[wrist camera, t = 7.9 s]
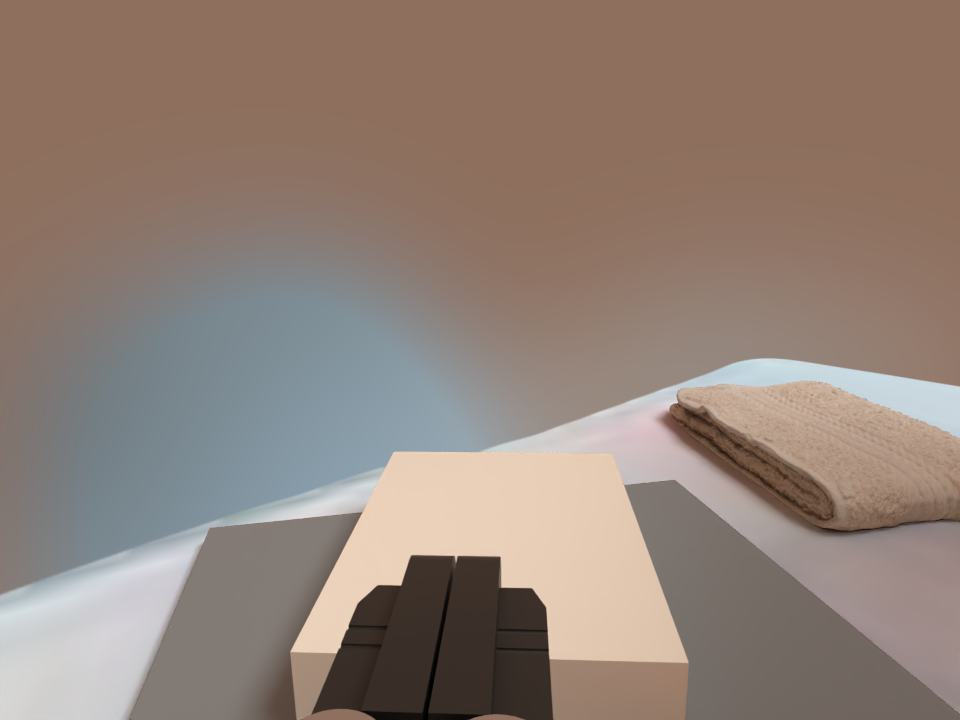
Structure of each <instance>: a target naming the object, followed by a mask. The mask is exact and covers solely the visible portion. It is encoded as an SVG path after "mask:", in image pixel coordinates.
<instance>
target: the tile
mask: <svg viewBox="0 0 960 720" xmlns="http://www.w3.org/2000/svg"><path fill="white" fill-rule="evenodd" d="M411 555H440V556H455V559H456V561H457V557H458V556H500V557H501V588H532V589H533V590H534V591H535V593H536V594H537V595H538V597H539V598H540V600H541V601H542V602H543V604H544V605H545V606H546V610H547V626H548V642H549V658H550V675H551V691H552V707H553V720H685V714H686V699H687V684H688V668H689V662H688V659H687V657H686V654H685V651H684V648H683V646H682V643H681V640H680V637H679V635H678V632H677V629H676V626H675V624H674V621H673V618H672V615H671V613H670V610H669V607H668V605H667V602H666V599H665V596H664V594H663V591H662V588H661V585H660V583H659V580H658V577H657V574H656V572H655V569H654V566H653V563H652V561H651V558H650V555H649V552H648V550H647V547H646V544H645V542H644V539H643V536H642V533H641V531H640V528H639V525H638V522H637V520H636V517H635V514H634V511H633V509H632V506H631V503H630V500H629V498H628V495H627V492H626V489H625V487H624V484H623V481H622V479H621V476H620V473H619V470H618V468H617V465H616V462H615V459H614V457H613V454H612V453H496V452H394V453H393V455H392V457H391V459H390V461H389V463H388V464H387V466H386V468H385V470H384V472H383V474H382V476H381V478H380V480H379V482H378V484H377V486H376V487H375V489H374V491H373V493H372V495H371V497H370V499H369V501H368V503H367V505H366V507H365V509H364V511H363V513H362V514H361V516H360V518H359V520H358V522H357V524H356V526H355V528H354V530H353V532H352V534H351V536H350V538H349V540H348V541H347V543H346V545H345V547H344V549H343V551H342V553H341V555H340V557H339V559H338V561H337V563H336V565H335V567H334V568H333V570H332V572H331V574H330V576H329V578H328V580H327V582H326V584H325V586H324V588H323V590H322V592H321V594H320V595H319V597H318V599H317V601H316V603H315V605H314V607H313V609H312V611H311V613H310V615H309V617H308V619H307V621H306V622H305V624H304V626H303V628H302V630H301V632H300V634H299V636H298V638H297V640H296V642H295V644H294V646H293V648H292V650H291V651H290V655H291V666H292V676H293V687H294V698H295V708H296V719H297V720H301V719H303V718H305V717H307V716H309V715H311V714H312V711H313V709H314V707H315V704H316V702H317V699H318V697H319V695H320V692H321V690H322V688H323V685H324V683H325V680H326V678H327V676H328V673H329V671H330V668H331V666H332V664H333V661H334V659H335V656H336V654H337V652H338V649H339V648H341V642H342V640H343V637H344V635H345V632H346V630H347V629H348V627H349V623H350V620H351V618H352V616H353V613H354V611H355V608H356V606H357V604H358V602H360V601H361V600H362V599H363V598H364V597H365V596H366V595H367V594H368V593H370V592H371V591H372V590H373V589H374V588H375V587H376V586H377V585H401V584H402V581H403V578H404V575H405V572H406V569H407V565H408V562H409V559H410V557H411Z"/></svg>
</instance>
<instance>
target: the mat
mask: <svg viewBox="0 0 960 720" xmlns="http://www.w3.org/2000/svg"><path fill="white" fill-rule="evenodd" d="M624 487H625V489H626V492H627V495H628V498H629V500H630V503H631V506H632V509H633V511H634V514H635V517H636V520H637V522H638V525H639V528H640V531H641V533H642V536H643V539H644V542H645V544H646V547H647V550H648V552H649V555H650V558H651V561H652V563H653V566H654V569H655V572H656V574H657V577H658V580H659V583H660V585H661V588H662V591H663V594H664V596H665V599H666V602H667V605H668V607H669V610H670V613H671V615H672V618H673V621H674V624H675V626H676V629H677V632H678V635H679V637H680V640H681V643H682V646H683V648H684V651H685V654H686V657H687V659H688V662H689V668H688V684H687V699H686V714H685V720H960V714H959V713H958V712H957V711H955V710H954V709H953V708H952V707H951V706H949V705H948V704H947V703H946V702H945V701H943V700H942V699H941V698H940V697H938V696H937V695H936V694H935V693H934V692H932V691H931V690H930V689H929V688H927V687H926V686H925V685H924V684H923V683H921V682H920V681H919V680H918V679H917V678H915V677H914V676H913V675H912V674H910V673H909V672H908V671H907V670H906V669H904V668H903V667H902V666H901V665H899V664H898V663H897V662H896V661H895V660H893V659H892V658H891V657H890V656H889V655H887V654H886V653H885V652H884V651H882V650H881V649H880V648H879V647H878V646H876V645H875V644H874V643H873V642H871V641H870V640H869V639H868V638H867V637H865V636H864V635H863V634H862V633H861V632H859V631H858V630H857V629H856V628H854V627H853V626H852V625H851V624H850V623H848V622H847V621H846V620H845V619H843V618H842V617H841V616H840V615H839V614H837V613H836V612H835V611H834V610H832V609H831V608H830V607H829V606H828V605H826V604H825V603H824V602H823V601H822V600H820V599H819V598H818V597H817V596H815V595H814V594H813V593H812V592H811V591H809V590H808V589H807V588H806V587H804V586H803V585H802V584H801V583H800V582H798V581H797V580H796V579H795V578H794V577H792V576H791V575H790V574H789V573H787V572H786V571H785V570H784V569H783V568H781V567H780V566H779V565H778V564H776V563H775V562H774V561H773V560H772V559H770V558H769V557H768V556H767V555H766V554H764V553H763V552H762V551H761V550H759V549H758V548H757V547H756V546H755V545H753V544H752V543H751V542H750V541H748V540H747V539H746V538H745V537H744V536H742V535H741V534H740V533H739V532H737V531H736V530H735V529H734V528H733V527H731V526H730V525H729V524H728V523H727V522H725V521H724V520H723V519H722V518H720V517H719V516H718V515H717V514H716V513H714V512H713V511H712V510H711V509H709V508H708V507H707V506H706V505H705V504H703V503H702V502H701V501H700V500H699V499H697V498H696V497H695V496H694V495H692V494H691V493H690V492H689V491H688V490H686V489H685V488H684V487H683V486H681V485H680V484H679V483H678V482H677V481H675V480H670V481H660V482H651V483H641V484H631V485H624ZM362 513H363V512H361V513H351V514H342V515H332V516H322V517H313V518H303V519H293V520H284V521H274V522H264V523H255V524H245V525H235V526H226V527H216V528H210V529H209V531H208V534H207V536H206V538H205V541H204V543H203V546H202V548H201V550H200V553H199V555H198V558H197V560H196V562H195V565H194V567H193V569H192V572H191V574H190V577H189V579H188V581H187V584H186V586H185V589H184V591H183V593H182V596H181V598H180V601H179V603H178V605H177V608H176V610H175V612H174V615H173V617H172V620H171V622H170V624H169V627H168V629H167V632H166V634H165V636H164V639H163V641H162V643H161V646H160V648H159V651H158V653H157V655H156V658H155V660H154V663H153V665H152V667H151V670H150V672H149V674H148V677H147V679H146V682H145V684H144V686H143V689H142V691H141V694H140V696H139V698H138V701H137V703H136V706H135V708H134V710H133V713H132V715H131V717H130V720H297V719H296V708H295V698H294V687H293V676H292V666H291V655H290V651H291V650H292V648H293V646H294V644H295V642H296V640H297V638H298V636H299V634H300V632H301V630H302V628H303V626H304V624H305V622H306V621H307V619H308V617H309V615H310V613H311V611H312V609H313V607H314V605H315V603H316V601H317V599H318V597H319V595H320V594H321V592H322V590H323V588H324V586H325V584H326V582H327V580H328V578H329V576H330V574H331V572H332V570H333V568H334V567H335V565H336V563H337V561H338V559H339V557H340V555H341V553H342V551H343V549H344V547H345V545H346V543H347V541H348V540H349V538H350V536H351V534H352V532H353V530H354V528H355V526H356V524H357V522H358V520H359V518H360V516H361V514H362Z"/></svg>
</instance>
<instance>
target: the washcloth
mask: <svg viewBox="0 0 960 720" xmlns="http://www.w3.org/2000/svg"><path fill="white" fill-rule="evenodd" d="M677 400H678V403H677V404H673V405H671V406H670V412H671V413H672V414H673V416H675V417H676V418H677V419H678V424H679V426H681V427H683V429H684V430H686V431H687V433H688V434H690V436H692V437H693V438H695V439H696V440H697V441H699V442H700V443H702V444H703V445H705V447H707V448H708V449H710V450H711V451H713V452H714V453H715V454H716V455H718V456H719V457H721V458H722V459H723V460H725V461H726V462H727V463H729V464H730V465H731V466H733V467H734V468H735V469H737V470H738V471H740V472H741V473H743V474H744V475H745V476H747V477H748V478H750V479H751V480H753V481H754V482H755V483H757V484H758V485H759V486H761V487H762V488H764V489H766V490H767V491H768V492H769V493H770V494H772V495H773V496H775V497H776V498H778V499H779V500H780V501H781V502H783V503H784V504H785V505H786V506H788V507H790V508H791V509H792V510H793V511H795V512H796V513H798V514H799V515H800V516H802V517H803V518H804V519H806V520H807V521H809V522H810V523H812V524H814V525H817V526H819V527H821V528H830V529H836V530H841V531H842V530H846V531H853V530H859V529H864V528H866V529H873V528H880V527H882V526H885V527H893V526H897V525H898V524H899V523H906V522H911V521H914V522H921V521H925V520H928V521H935V520H939V519H952V520H957V521H960V439H959V438H957V437H954V436H952V435H951V434H950V433H949V432H946V431H942V430H941V429H939V428H937V427H934V426H930V425H928V424H927V423H925V422H923V421H919V420H918V419H916V420H915V419H913V418H910V417H908V416H907V415H903V414H902V413H901V412H895V411H892V410H891V409H890V408H887V407H885V406H880V405H879V404H873V403H871V402H869V401H868V400H867V399H862V398H860V397H857V396H856V395H854V394H849V393H848V392H845V391H843V390H841V389H840V388H836V387H833V386H831V385H830V384H827V383H823V382H816V381H799V382H792V383H787V384H782V385H773V386H767V387H753V386H742V385H729V384H719V385H716V386H707V387H697V388H683V389H680V390H679V391H678V393H677Z"/></svg>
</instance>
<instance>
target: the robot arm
mask: <svg viewBox="0 0 960 720" xmlns="http://www.w3.org/2000/svg"><path fill="white" fill-rule="evenodd" d="M301 720H553V707H552V691H551V675H550V658H549V642H548V626H547V610H546V606H545V605H544V604H543V602H542V601H541V600H540V598H539V597H538V595H537V594H536V593H535V591H534V590H533V589H532V588H501V557H500V556H458V557H457V561H456V559H455V556H440V555H411V557H410V559H409V562H408V565H407V569H406V572H405V575H404V578H403V581H402V584H401V585H377V586H376V587H375V588H374V589H373V590H372V591H371V592H370V593H368V594H367V595H366V596H365V597H364V598H363V599H362V600H361V601H360V602H358V604H357V606H356V608H355V611H354V613H353V616H352V618H351V620H350V623H349V627H348V629H347V630H346V632H345V635H344V637H343V640H342V642H341V648H339V649H338V652H337V654H336V656H335V659H334V661H333V664H332V666H331V668H330V671H329V673H328V676H327V678H326V680H325V683H324V685H323V688H322V690H321V692H320V695H319V697H318V699H317V702H316V704H315V707H314V709H313V711H312V714H311V715H309V716H307V717H305V718H303V719H301Z"/></svg>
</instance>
